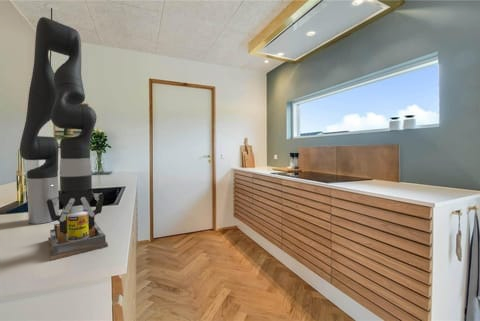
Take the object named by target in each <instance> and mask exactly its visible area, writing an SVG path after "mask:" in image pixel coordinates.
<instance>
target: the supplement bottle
mask: <svg viewBox="0 0 480 321" xmlns="http://www.w3.org/2000/svg"><path fill="white" fill-rule="evenodd" d="M65 220H66V240H67V241H69V242H71V241H76V240H81V239H86V238H88V237H89V213H88V211H87V210H86V208H85V206H84V205H78V206H72V207H71V209H70V211H69V213H68V214H67V216H66V218H65Z"/></svg>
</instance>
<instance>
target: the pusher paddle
mask: <svg viewBox="0 0 480 321" xmlns="http://www.w3.org/2000/svg"><path fill="white" fill-rule="evenodd" d="M93 235H95V229H94V226H93V227H92V229H89V236H93ZM57 240H58V243H60V242H65V241H67V240H66V234H63V232H60V225H57Z"/></svg>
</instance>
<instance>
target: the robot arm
mask: <svg viewBox="0 0 480 321" xmlns="http://www.w3.org/2000/svg"><path fill="white" fill-rule="evenodd" d="M50 51H51V52H54V53H57V54H60V55H64V56H68V58H67V60H66V61H65V62H64V63H62V64H61V65H59V67H58V68H57V69H56V70H55V72H54V70H53V67H52V65H51V62H50V59H49V57H50V56H49V52H50ZM33 56H34V57H33V66H32V67H33V68H32V74H31V78H30V86H29V90H28V97H27V98H28V99H27V108H26V118H25V121H24V122H25V123H24V127H23V131H22V134H21V140H20V144H19V145H20V146H19V154H20V157H21V158H22V159H23V160H25V161H44V163H43V164H42V165H39V166H37V167H35V168H32V169H29V170H27V171H26V185H27V186H26V187H27V191H26V192H27V208H28V211H27V215H28V216H27V217H28V224H30V225H31V224H32V225H39V224H45V223H51V222H54V221H57V222H59V223H58V224H60V232H63V234H66V216H67V214H68V213H69V211H70V209H71V207H72V206H78V205H84V206H85V208H86V210H87V211H88V213H89V229H92V227H93V226H94V225H95V216H96V215H98V214H101V213H102V210H103V205H104V204H103V203H104V199H105V195H104V194H103V192H99V193H94V191H93V183H92V179H93V178H92V177H93V176H92V175H93V174H92V172H93V170H92V161H91V140H92V136H93V131H94V129H95V126H96V122H97V117H98V116H97V113H96V111H95V110H94V109H93V108H92V106H89V105H81V104H82V103H84V101H85V99H86V94H85V93H86V92H85V89H84V85H83V78H82V39H81V36H80V32H78V30H77V29H75V28H73V27H71V26H69V25H67V24H63V23H61V22H58V21H55V20H54V19H51V18H48V17H44V16H42V17H40V18H39V19H38V21H37V24H36V30H35V43H34V55H33ZM50 121H51V122H52V124H53V125H54V126H55V127H56V128H58V129H65V130H80V133H79V134H78V135H77V136H76V135H74V136H70V137H64V138H62V139H60V141H59V142H58V139H57V137H54V136H44V135H43V136H41V135H39V136H38V134H39V133H40V131H41V130H42V128H43V127H44V126H45V125H46V124H47V123H48V122H50ZM59 154H60V158H59ZM59 159H60V160H59ZM58 173H59V174H58ZM93 198H94V200H96V205H95V209H92V207H91V205H90V202H91V201H92V200H93ZM60 203H61V204H62V205H63V208H62V210H61V211H60ZM60 212H61V213H60Z"/></svg>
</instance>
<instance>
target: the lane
mask: <svg viewBox="0 0 480 321" xmlns="http://www.w3.org/2000/svg"><path fill="white" fill-rule="evenodd" d="M94 222H95V221H94ZM57 225H60V224H59V223H56V224H54V225H53V227H54V228H53V229H50V230H49V233H50V237H48V248H49V256H50V261H53V260H58V259H63V258H65V257H66V258H68V257H70V256H74V255H78V254H84V253H86V252H92V251H95V250H98V249H103V248H107V247H109V242H107V240H106V234H105V233H104V231H103V230H102V228H101V227H100V226H99V225H98V223H97V222H95V225H94V229H95V235H93V236H89V237H88V238H86V239H81V240H76V241H71V242H69V241H65V242H60V243H58V240H57Z"/></svg>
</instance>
